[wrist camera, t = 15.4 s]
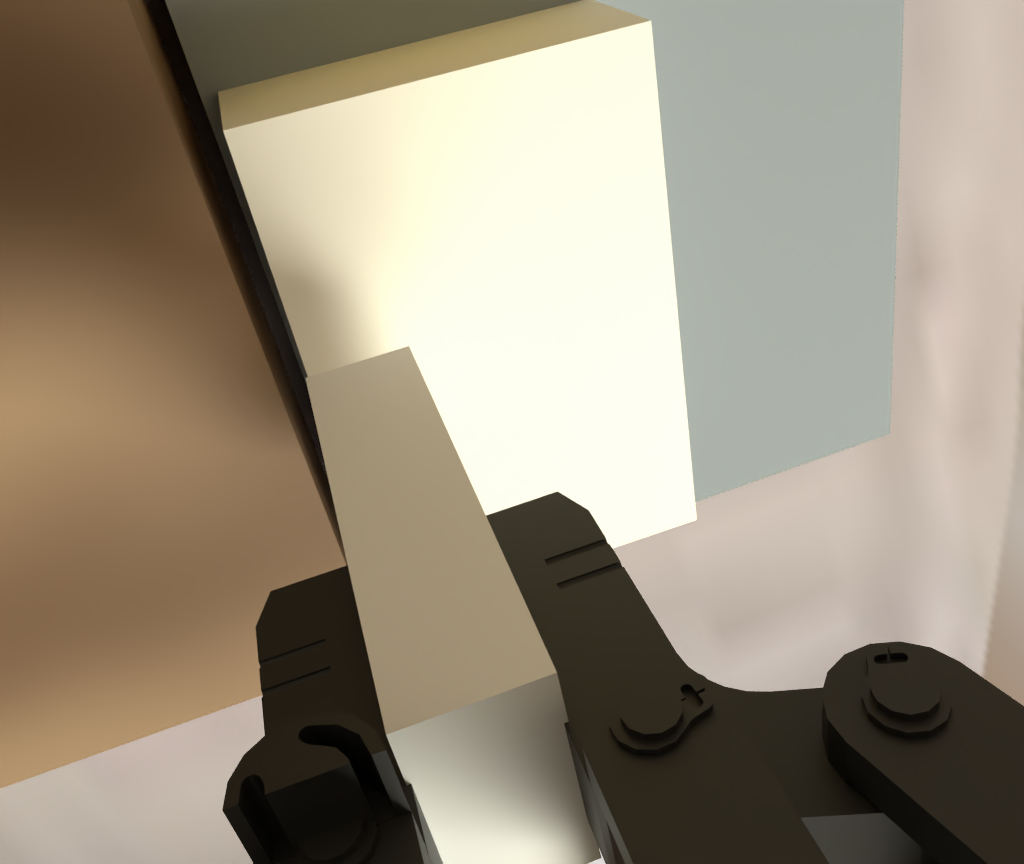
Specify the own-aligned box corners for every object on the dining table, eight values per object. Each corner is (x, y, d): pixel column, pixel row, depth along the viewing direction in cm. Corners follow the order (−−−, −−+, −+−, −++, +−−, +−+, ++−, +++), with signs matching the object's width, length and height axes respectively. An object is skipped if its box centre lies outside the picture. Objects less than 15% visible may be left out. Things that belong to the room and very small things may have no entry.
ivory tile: (217, 91, 14) (222, 130, 12) (589, -2, 15) (650, 20, 13) (370, 541, 19) (392, 623, 17) (645, 452, 20) (697, 519, 18)
